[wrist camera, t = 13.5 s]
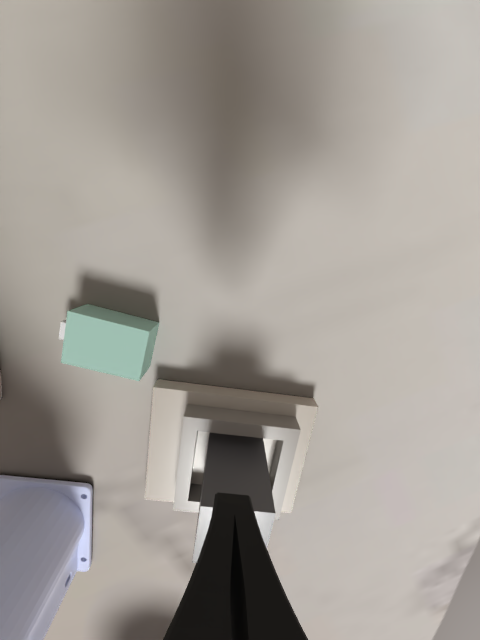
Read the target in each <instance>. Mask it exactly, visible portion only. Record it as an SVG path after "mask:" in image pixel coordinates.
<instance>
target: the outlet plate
mask: <svg viewBox="0 0 480 640" xmlns="http://www.w3.org/2000/svg"><path fill="white" fill-rule="evenodd" d="M317 410H318V406H317V404H316V402H315V400H314V398H307V397H299V396H291V395H283V394H275V393H266V392H258V391H250V390H242V389H234V388H226V387H218V386H210V385H201V384H193V383H185V382H177V381H169V380H161V379H158V380H157V382H156V383H155V385H154V387H153V397H152V410H151V423H150V435H149V448H148V461H147V473H146V486H145V500H156V501H167V502H174V506H173V511H185V512H196V513H199V506H200V498H201V490H202V482H203V474H204V467H205V461H206V454H207V447H208V440H209V433H219V434H228V435H237V436H246V437H255V438H263V441H264V447H265V453H266V459H267V465H268V471H269V477H270V483H271V489H272V495H273V501H274V507H275V513H276V514H275V518H274V520H279V518H280V513H281V512H286V513H291V512H292V508H293V504H294V500H295V496H296V492H297V488H298V485H299V481H300V477H301V473H302V469H303V465H304V461H305V457H306V453H307V449H308V445H309V442H310V438H311V434H312V430H313V426H314V422H315V418H316V414H317Z"/></svg>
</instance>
